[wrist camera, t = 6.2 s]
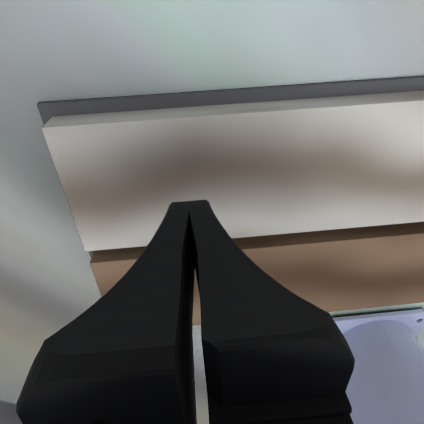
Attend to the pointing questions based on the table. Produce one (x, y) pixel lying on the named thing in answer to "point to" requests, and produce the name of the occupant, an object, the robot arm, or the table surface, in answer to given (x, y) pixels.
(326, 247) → the laid plank
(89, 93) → the table surface
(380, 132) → the plank
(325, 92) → the underlay mat
